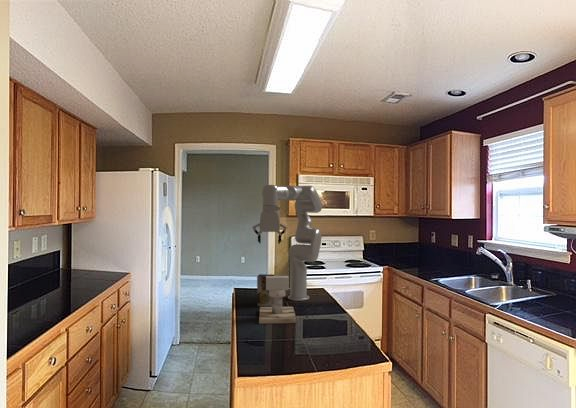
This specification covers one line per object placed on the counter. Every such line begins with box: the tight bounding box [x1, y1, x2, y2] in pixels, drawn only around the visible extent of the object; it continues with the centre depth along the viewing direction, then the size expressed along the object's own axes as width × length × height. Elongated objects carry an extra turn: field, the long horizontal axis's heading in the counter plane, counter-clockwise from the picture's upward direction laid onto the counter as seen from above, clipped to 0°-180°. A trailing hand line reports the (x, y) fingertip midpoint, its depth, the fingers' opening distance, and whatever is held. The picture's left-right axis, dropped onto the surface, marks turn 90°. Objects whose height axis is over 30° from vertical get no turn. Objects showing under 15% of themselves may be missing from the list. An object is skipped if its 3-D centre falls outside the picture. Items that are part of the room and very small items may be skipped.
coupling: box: [266, 275, 290, 298], centre depth 169 cm, size 10×11×9 cm
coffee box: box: [256, 273, 276, 307], centre depth 191 cm, size 9×6×16 cm
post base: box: [258, 297, 297, 325], centre depth 170 cm, size 20×17×10 cm
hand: (269, 243), depth 175 cm, fingers open, 9 cm apart
